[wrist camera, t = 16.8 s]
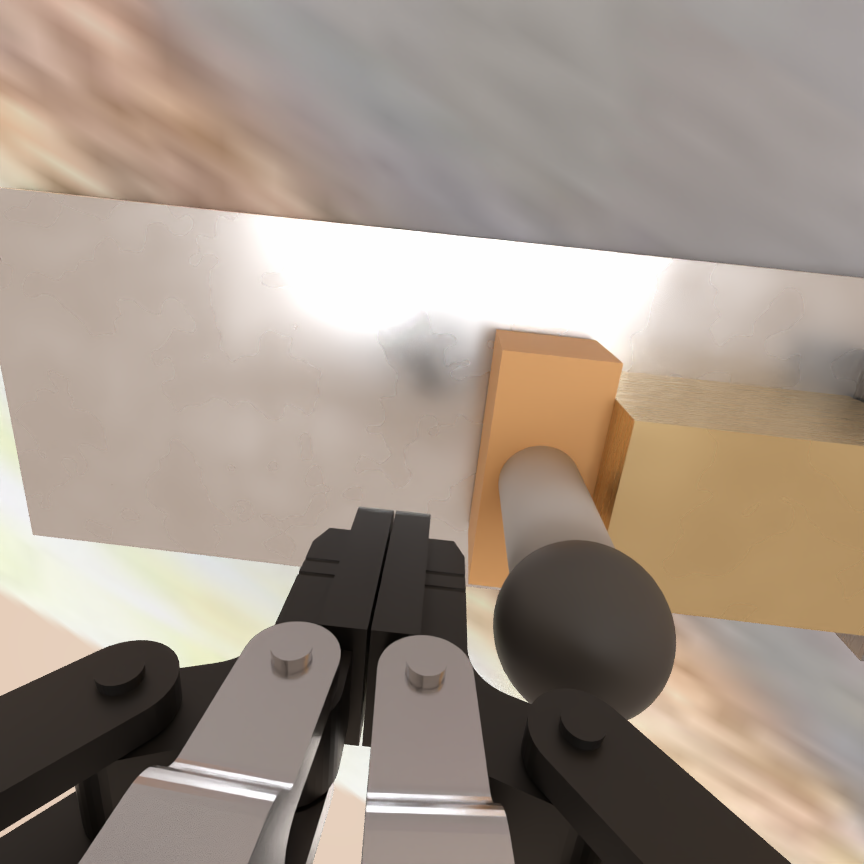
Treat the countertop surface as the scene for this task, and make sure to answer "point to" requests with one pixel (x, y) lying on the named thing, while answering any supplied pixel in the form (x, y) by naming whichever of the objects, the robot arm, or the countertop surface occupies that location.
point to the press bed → (332, 362)
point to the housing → (739, 499)
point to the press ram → (560, 531)
